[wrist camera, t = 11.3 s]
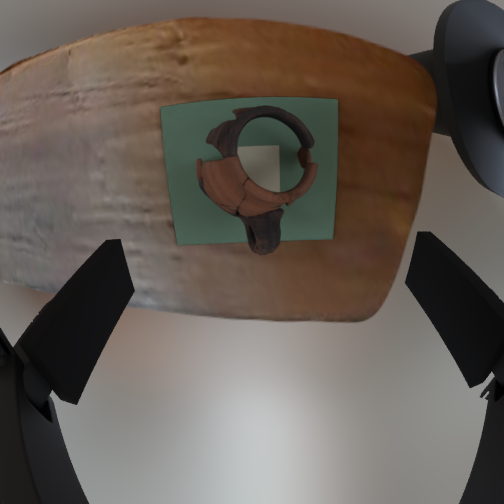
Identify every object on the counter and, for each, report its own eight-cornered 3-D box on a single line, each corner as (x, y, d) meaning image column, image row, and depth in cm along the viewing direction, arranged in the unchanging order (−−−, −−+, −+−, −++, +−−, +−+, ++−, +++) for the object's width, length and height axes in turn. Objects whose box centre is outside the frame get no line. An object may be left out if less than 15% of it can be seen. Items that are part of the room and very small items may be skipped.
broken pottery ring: (178, 137, 23) (197, 101, 16) (268, 122, 26) (314, 93, 19) (211, 261, 26) (243, 278, 18) (296, 232, 29) (349, 237, 21)
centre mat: (337, 99, 21) (338, 99, 21) (332, 238, 28) (333, 239, 28) (161, 107, 22) (159, 107, 21) (178, 244, 28) (177, 245, 28)
